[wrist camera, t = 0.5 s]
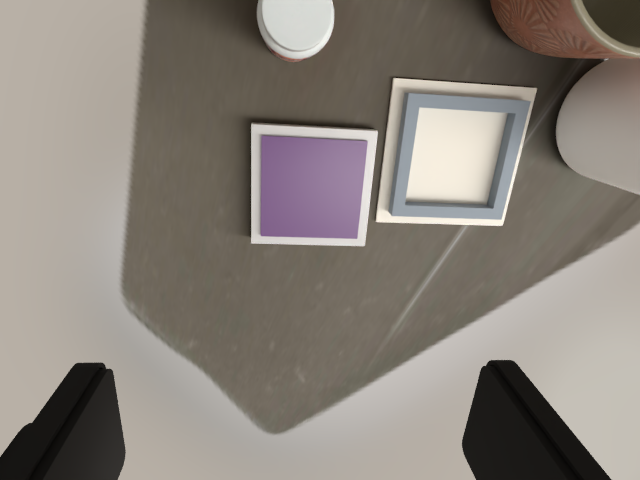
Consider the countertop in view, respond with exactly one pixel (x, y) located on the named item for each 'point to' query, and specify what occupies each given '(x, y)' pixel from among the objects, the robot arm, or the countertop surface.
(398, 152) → the square tray
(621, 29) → the planter
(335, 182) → the ink pad
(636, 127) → the cup
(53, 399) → the robot arm
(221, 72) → the countertop surface
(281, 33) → the pill bottle
